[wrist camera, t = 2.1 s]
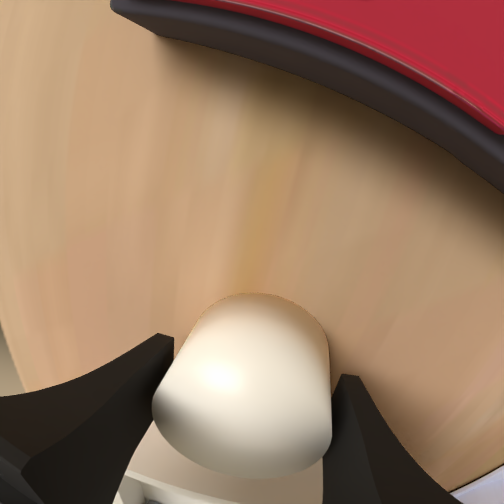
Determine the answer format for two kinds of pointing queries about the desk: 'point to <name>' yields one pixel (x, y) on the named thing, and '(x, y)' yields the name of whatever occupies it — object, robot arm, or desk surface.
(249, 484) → the dock
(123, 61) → the desk surface
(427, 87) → the calculator
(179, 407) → the white dome-topped cylinder
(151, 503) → the tray
